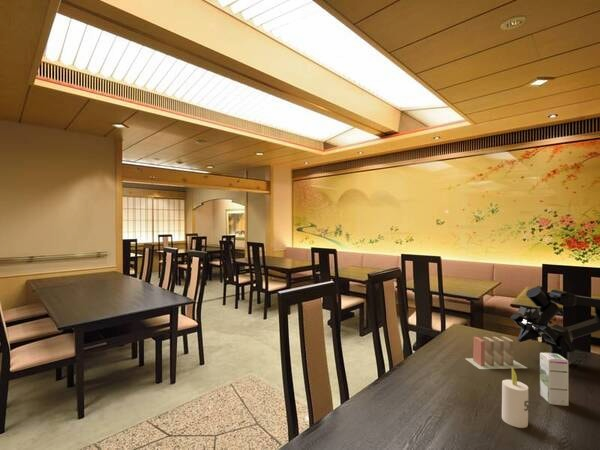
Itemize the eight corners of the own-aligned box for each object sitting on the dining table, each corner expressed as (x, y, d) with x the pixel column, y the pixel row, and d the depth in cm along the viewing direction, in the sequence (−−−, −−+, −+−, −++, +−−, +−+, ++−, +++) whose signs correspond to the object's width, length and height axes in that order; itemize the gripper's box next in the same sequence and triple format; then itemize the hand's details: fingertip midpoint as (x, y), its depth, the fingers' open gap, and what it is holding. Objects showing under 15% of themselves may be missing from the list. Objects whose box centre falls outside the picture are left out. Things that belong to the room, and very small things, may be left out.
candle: (519, 430, 88) (520, 376, 88) (496, 417, 94) (497, 366, 94) (533, 425, 91) (534, 372, 91) (510, 412, 97) (511, 363, 97)
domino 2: (486, 360, 134) (486, 336, 134) (494, 365, 129) (494, 341, 129) (482, 360, 134) (482, 336, 134) (490, 365, 129) (490, 341, 129)
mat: (509, 358, 137) (509, 357, 137) (527, 368, 127) (527, 368, 127) (464, 359, 136) (464, 358, 136) (479, 369, 126) (479, 369, 126)
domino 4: (504, 360, 134) (504, 336, 134) (513, 365, 129) (513, 340, 129) (500, 360, 134) (501, 336, 134) (509, 365, 129) (509, 340, 129)
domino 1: (476, 360, 133) (477, 336, 133) (484, 366, 128) (484, 341, 128) (473, 360, 133) (473, 336, 133) (480, 366, 128) (481, 341, 128)
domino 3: (495, 360, 134) (495, 336, 134) (503, 365, 129) (503, 340, 129) (491, 360, 134) (491, 336, 134) (499, 365, 129) (500, 340, 129)
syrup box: (569, 406, 101) (570, 360, 101) (548, 404, 102) (548, 358, 102) (558, 396, 106) (559, 353, 106) (538, 394, 107) (539, 351, 107)
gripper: (515, 295, 142) (490, 320, 141) (550, 306, 123) (523, 335, 122) (531, 313, 142) (507, 338, 141) (569, 326, 124) (542, 355, 123)
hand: (518, 341), depth 132 cm, fingers closed
